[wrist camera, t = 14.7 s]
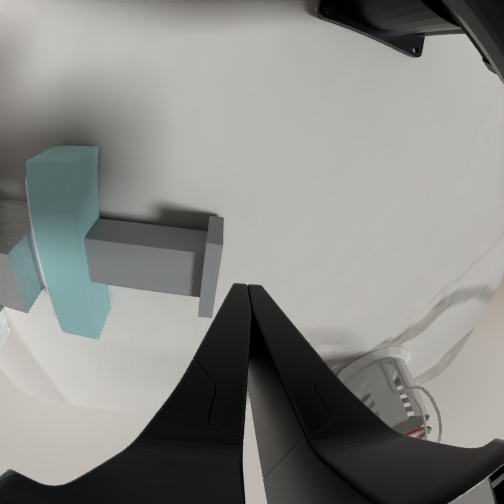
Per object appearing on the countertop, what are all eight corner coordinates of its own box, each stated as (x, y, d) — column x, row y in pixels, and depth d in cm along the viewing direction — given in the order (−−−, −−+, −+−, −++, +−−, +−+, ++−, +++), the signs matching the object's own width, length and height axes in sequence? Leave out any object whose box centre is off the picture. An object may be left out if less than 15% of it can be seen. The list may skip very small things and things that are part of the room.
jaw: (233, 158, 14) (235, 176, 12) (208, 321, 21) (206, 355, 18) (52, 145, 13) (21, 161, 10) (73, 301, 19) (59, 330, 16)
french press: (324, 400, 30) (363, 580, 9) (350, 342, 24) (422, 591, 3) (392, 386, 31) (442, 544, 10) (430, 328, 25) (514, 525, 4)
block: (58, 203, 15) (7, 254, 10) (65, 255, 17) (27, 313, 12) (-1, 199, 14) (-51, 242, 9) (9, 245, 16) (-32, 293, 11)
